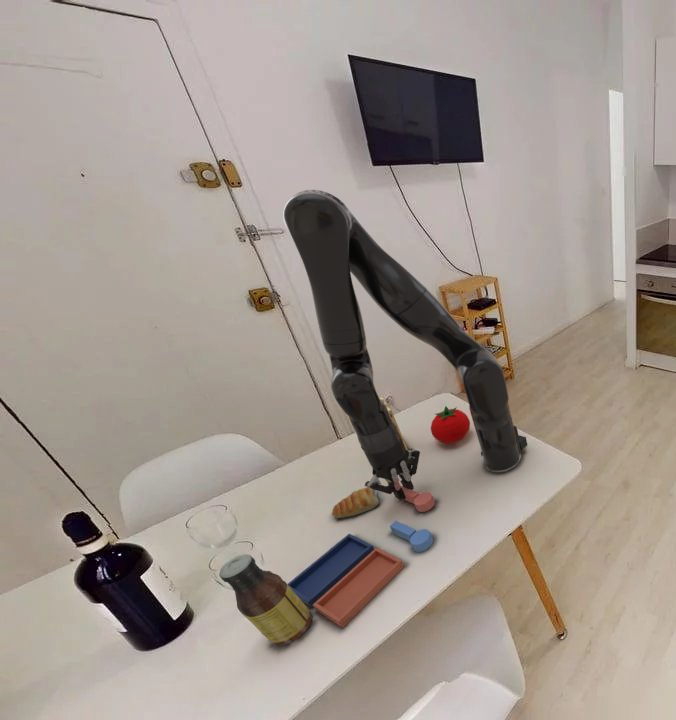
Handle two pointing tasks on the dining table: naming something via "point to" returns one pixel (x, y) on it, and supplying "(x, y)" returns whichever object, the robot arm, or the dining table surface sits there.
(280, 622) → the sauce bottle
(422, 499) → the rose spoon
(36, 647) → the dining table surface
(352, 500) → the pastry
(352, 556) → the blue tray
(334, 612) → the rose tray
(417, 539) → the blue spoon
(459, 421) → the tomato
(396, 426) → the candy box
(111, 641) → the dining table surface
